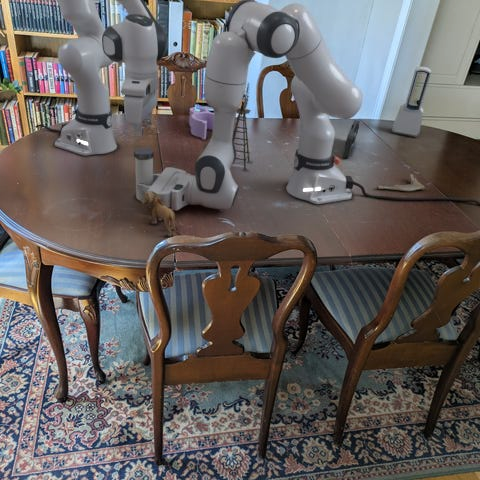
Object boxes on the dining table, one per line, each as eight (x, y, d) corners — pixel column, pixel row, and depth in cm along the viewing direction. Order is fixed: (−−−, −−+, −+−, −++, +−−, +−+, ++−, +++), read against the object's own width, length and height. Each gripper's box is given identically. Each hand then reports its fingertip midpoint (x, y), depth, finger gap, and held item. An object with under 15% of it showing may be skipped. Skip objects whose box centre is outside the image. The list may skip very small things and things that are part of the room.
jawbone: (429, 189, 172) (431, 184, 171) (394, 201, 161) (396, 196, 160) (410, 177, 177) (412, 172, 176) (375, 189, 167) (376, 184, 165)
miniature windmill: (245, 170, 170) (254, 87, 153) (222, 166, 171) (229, 83, 154) (250, 161, 177) (258, 80, 161) (228, 157, 178) (235, 77, 162)
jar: (138, 192, 148) (137, 147, 140) (154, 194, 148) (154, 149, 140) (134, 200, 144) (133, 154, 136) (151, 201, 144) (150, 156, 136)
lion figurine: (138, 219, 134) (138, 191, 130) (153, 213, 138) (152, 186, 133) (173, 240, 127) (174, 211, 122) (187, 233, 131) (188, 205, 126)
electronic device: (418, 133, 224) (438, 69, 207) (417, 138, 218) (438, 72, 201) (391, 128, 226) (409, 64, 210) (390, 133, 220) (409, 67, 204)
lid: (136, 151, 141) (136, 145, 140) (155, 153, 141) (155, 148, 140) (131, 158, 136) (131, 153, 135) (151, 160, 136) (151, 155, 135)
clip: (182, 123, 206) (183, 107, 202) (209, 122, 210) (210, 106, 207) (197, 140, 191) (197, 123, 187) (225, 138, 195) (226, 122, 191)
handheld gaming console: (349, 160, 187) (354, 136, 182) (342, 158, 188) (347, 134, 183) (355, 142, 206) (361, 119, 201) (349, 140, 207) (354, 118, 201)
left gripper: (140, 71, 136) (142, 118, 143) (118, 89, 119) (122, 141, 126) (162, 73, 136) (163, 120, 143) (143, 92, 118) (145, 144, 126)
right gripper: (194, 166, 149) (153, 159, 150) (175, 194, 132) (128, 186, 133) (193, 183, 152) (153, 177, 154) (174, 213, 135) (129, 205, 137)
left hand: (143, 130), depth 134 cm, fingers open, 8 cm apart
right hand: (141, 181), depth 144 cm, fingers closed on jar, 5 cm apart
